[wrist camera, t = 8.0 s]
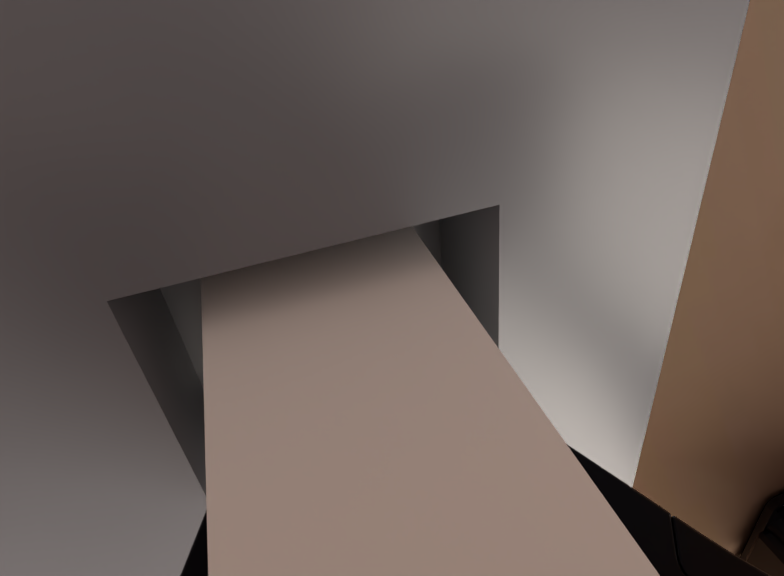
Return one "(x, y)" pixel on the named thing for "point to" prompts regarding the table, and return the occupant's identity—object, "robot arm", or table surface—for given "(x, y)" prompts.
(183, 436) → the socket block
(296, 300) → the plug
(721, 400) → the table surface
